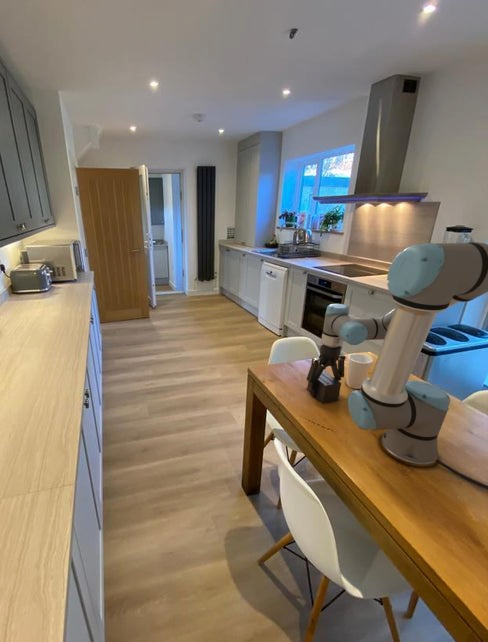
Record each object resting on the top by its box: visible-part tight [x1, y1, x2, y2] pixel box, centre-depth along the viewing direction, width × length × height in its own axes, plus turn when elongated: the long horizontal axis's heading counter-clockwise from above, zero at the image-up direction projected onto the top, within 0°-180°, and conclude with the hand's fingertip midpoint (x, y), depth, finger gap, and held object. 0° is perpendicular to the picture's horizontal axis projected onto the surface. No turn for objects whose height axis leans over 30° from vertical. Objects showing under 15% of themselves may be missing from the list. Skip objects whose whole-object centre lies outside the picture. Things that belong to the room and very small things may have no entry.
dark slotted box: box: [306, 370, 342, 404], centre depth 133 cm, size 12×7×8 cm, turn 14°
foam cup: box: [346, 353, 374, 390], centre depth 138 cm, size 10×9×13 cm
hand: (322, 393), depth 134 cm, fingers open, 8 cm apart
